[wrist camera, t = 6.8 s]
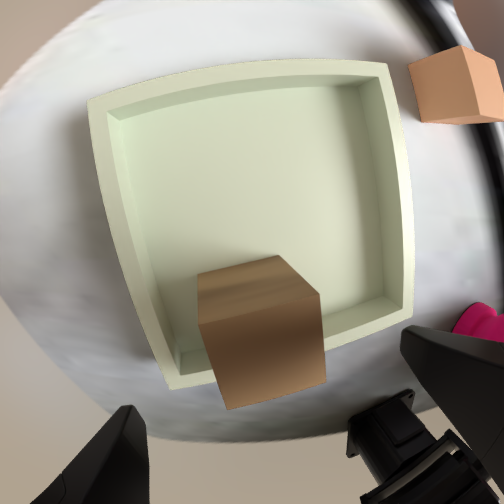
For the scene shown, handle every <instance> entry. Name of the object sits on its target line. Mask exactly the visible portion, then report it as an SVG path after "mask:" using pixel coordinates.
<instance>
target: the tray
mask: <svg viewBox="0 0 504 504" xmlns="http://www.w3.org/2000/svg"><path fill="white" fill-rule="evenodd" d="M87 109H88V118H89V126H90V134H91V140H92V147H93V153H94V159H95V164H96V170H97V175H98V180H99V185H100V190H101V194H102V199H103V203H104V207H105V211H106V215H107V219H108V223H109V227H110V231H111V235H112V238H113V242H114V245H115V249H116V252H117V256H118V259H119V262H120V265H121V269H122V272H123V275H124V278H125V281H126V284H127V287H128V290H129V293H130V296H131V298H132V301H133V304H134V307H135V309H136V312H137V315H138V317H139V320H140V323H141V325H142V328H143V330H144V333H145V335H146V338H147V340H148V342H149V345H150V347H151V350H152V352H153V354H154V356H155V359H156V361H157V363H158V365H159V368H160V370H161V372H162V374H163V376H164V378H165V381H166V383H167V385H168V387H169V389H170V390H175V389H181V388H186V387H192V386H197V385H202V384H207V383H212V382H216V378H215V375H214V372H213V369H212V366H211V363H210V360H209V357H208V355H207V352H206V348H205V345H204V342H203V339H202V336H201V333H200V330H199V327H198V302H197V274H200V273H204V272H208V271H212V270H217V269H221V268H225V267H230V266H234V265H238V264H242V263H247V262H251V261H255V260H259V259H264V258H268V257H272V256H276V255H280V256H281V257H282V258H283V259H284V260H285V261H286V262H287V263H288V264H289V265H290V266H291V267H292V268H293V269H294V270H295V271H296V272H297V273H299V274H300V275H301V276H302V277H303V278H304V279H305V280H306V281H307V282H308V283H309V284H310V285H311V286H312V287H313V288H314V289H315V290H316V291H317V292H318V293H319V294H320V303H321V314H322V325H323V338H324V351H327V350H330V349H333V348H336V347H339V346H341V345H344V344H347V343H349V342H352V341H355V340H357V339H360V338H363V337H365V336H368V335H370V334H373V333H375V332H378V331H380V330H382V329H385V328H387V327H390V326H392V325H394V324H397V323H399V322H401V321H403V320H406V319H408V318H410V317H412V314H413V299H414V272H415V247H414V219H413V204H412V192H411V182H410V174H409V166H408V159H407V152H406V145H405V139H404V134H403V128H402V123H401V118H400V113H399V109H398V104H397V100H396V96H395V92H394V88H393V84H392V80H391V76H390V73H389V69H388V66H387V63H378V62H369V61H357V60H342V59H281V60H265V61H253V62H243V63H235V64H227V65H220V66H213V67H207V68H201V69H196V70H191V71H186V72H181V73H176V74H172V75H168V76H163V77H159V78H155V79H152V80H148V81H144V82H141V83H137V84H134V85H130V86H127V87H124V88H121V89H118V90H115V91H112V92H109V93H106V94H103V95H100V96H97V97H95V98H92V99H89V100H87Z"/></svg>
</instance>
